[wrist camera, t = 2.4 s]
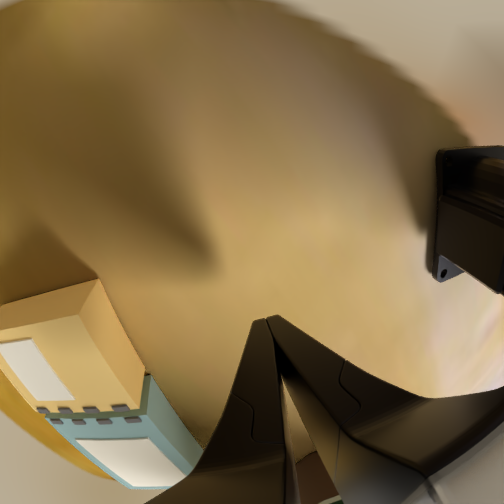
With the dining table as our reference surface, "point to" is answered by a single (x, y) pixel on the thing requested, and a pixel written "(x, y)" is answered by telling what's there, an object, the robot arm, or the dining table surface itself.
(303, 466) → the beer bottle
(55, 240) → the dining table surface
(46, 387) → the stub
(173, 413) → the pale blue pin-sided card
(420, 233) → the dining table surface
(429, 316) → the dining table surface
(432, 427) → the robot arm
